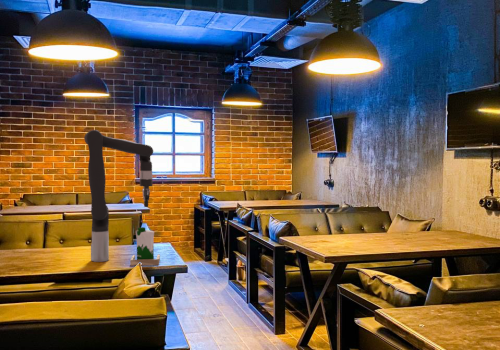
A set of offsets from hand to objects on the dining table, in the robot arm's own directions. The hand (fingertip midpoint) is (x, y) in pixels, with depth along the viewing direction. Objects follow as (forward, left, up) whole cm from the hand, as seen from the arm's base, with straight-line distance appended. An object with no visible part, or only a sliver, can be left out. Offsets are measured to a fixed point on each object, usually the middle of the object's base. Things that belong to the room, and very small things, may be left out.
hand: (146, 206), depth 298 cm
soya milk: (+13, -15, -30) cm, 36 cm away
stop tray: (+13, -15, -30) cm, 36 cm away
